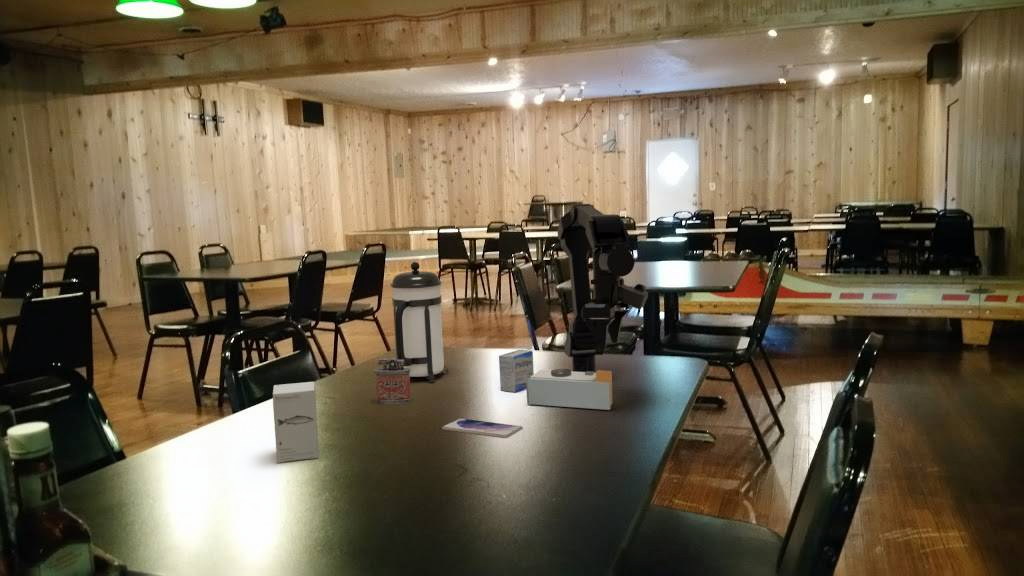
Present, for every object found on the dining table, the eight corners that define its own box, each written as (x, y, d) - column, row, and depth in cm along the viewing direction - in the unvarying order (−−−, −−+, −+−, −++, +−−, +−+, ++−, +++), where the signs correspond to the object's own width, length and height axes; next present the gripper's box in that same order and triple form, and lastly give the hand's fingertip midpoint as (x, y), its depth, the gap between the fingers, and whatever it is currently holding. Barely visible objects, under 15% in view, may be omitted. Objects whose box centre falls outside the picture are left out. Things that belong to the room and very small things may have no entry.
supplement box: (276, 464, 127) (270, 393, 126) (278, 451, 134) (272, 384, 133) (319, 458, 129) (314, 389, 128) (319, 446, 136) (314, 380, 135)
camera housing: (541, 395, 165) (540, 366, 165) (601, 399, 160) (600, 369, 159) (530, 403, 159) (529, 373, 158) (592, 408, 154) (591, 376, 153)
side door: (530, 400, 160) (529, 366, 159) (612, 406, 153) (611, 370, 152) (526, 403, 158) (525, 369, 157) (609, 409, 151) (608, 373, 150)
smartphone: (460, 417, 149) (524, 426, 142) (460, 421, 150) (524, 430, 142) (440, 426, 143) (506, 436, 136) (440, 431, 143) (506, 440, 136)
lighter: (413, 399, 167) (410, 356, 166) (409, 403, 163) (407, 359, 162) (379, 399, 168) (376, 357, 166) (374, 403, 164) (372, 360, 163)
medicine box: (515, 393, 169) (513, 356, 168) (499, 390, 171) (498, 354, 170) (534, 385, 175) (533, 350, 174) (519, 383, 178) (518, 348, 177)
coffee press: (381, 376, 191) (374, 262, 188) (439, 368, 198) (433, 258, 194) (400, 390, 175) (392, 266, 172) (461, 381, 182) (456, 262, 179)
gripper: (632, 276, 144) (635, 354, 145) (653, 270, 161) (655, 340, 162) (579, 277, 148) (581, 353, 149) (605, 271, 165) (607, 339, 166)
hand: (609, 346), depth 157 cm, fingers open, 9 cm apart
